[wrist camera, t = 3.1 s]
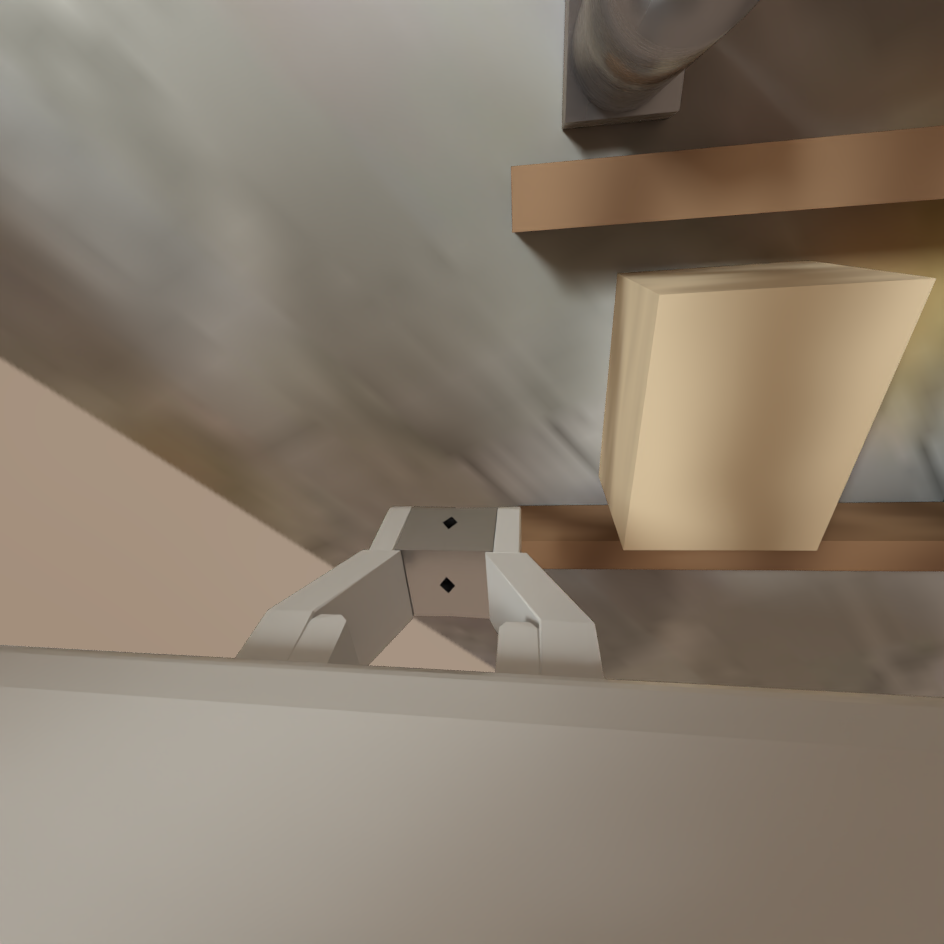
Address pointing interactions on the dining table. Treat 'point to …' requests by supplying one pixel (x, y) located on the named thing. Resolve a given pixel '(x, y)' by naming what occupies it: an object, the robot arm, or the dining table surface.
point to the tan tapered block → (746, 398)
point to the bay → (722, 194)
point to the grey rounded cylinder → (636, 55)
